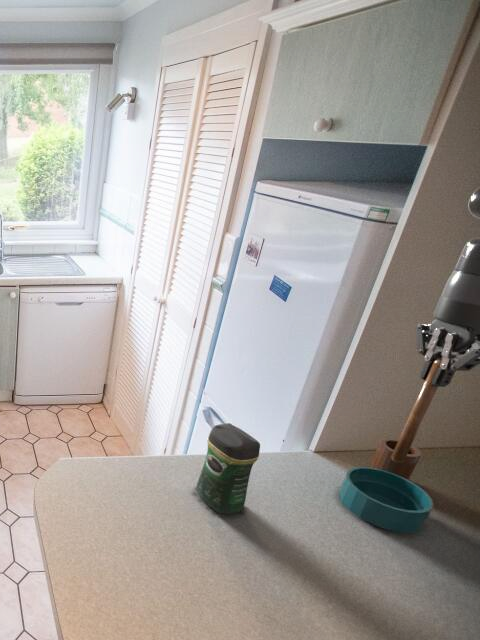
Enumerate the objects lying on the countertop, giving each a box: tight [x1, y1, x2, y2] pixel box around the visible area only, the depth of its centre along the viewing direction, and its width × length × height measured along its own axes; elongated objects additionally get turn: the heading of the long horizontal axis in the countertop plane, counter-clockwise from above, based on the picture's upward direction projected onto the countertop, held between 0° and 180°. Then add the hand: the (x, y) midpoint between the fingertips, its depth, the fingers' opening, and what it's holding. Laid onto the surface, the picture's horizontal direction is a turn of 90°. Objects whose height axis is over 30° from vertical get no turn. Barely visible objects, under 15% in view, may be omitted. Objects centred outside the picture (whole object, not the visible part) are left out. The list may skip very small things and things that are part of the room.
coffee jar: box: [195, 422, 261, 515], centre depth 99 cm, size 10×8×19 cm
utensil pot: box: [368, 437, 422, 481], centre depth 108 cm, size 7×7×9 cm
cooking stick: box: [391, 359, 442, 463], centre depth 90 cm, size 2×2×24 cm
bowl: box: [338, 466, 434, 534], centre depth 99 cm, size 14×14×6 cm
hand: (432, 382), depth 87 cm, fingers closed on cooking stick, 2 cm apart
